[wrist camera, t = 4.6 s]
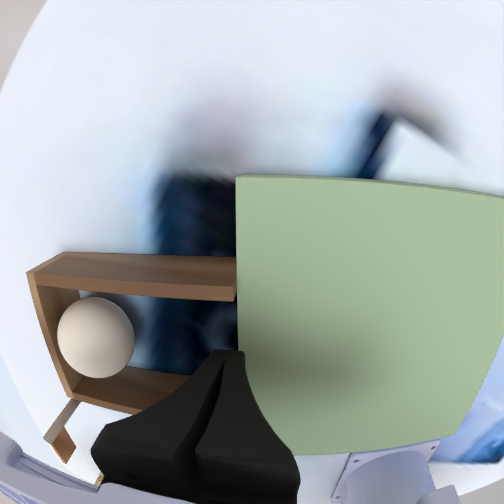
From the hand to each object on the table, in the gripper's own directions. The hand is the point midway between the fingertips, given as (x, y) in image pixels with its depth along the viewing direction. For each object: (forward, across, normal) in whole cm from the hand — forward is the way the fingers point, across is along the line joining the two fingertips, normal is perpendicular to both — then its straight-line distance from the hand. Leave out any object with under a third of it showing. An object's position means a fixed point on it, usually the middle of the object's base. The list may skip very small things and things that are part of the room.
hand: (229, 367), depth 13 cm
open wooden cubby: (+3, +5, +2) cm, 6 cm away
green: (+3, -8, 0) cm, 8 cm away
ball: (+1, +8, 0) cm, 8 cm away
